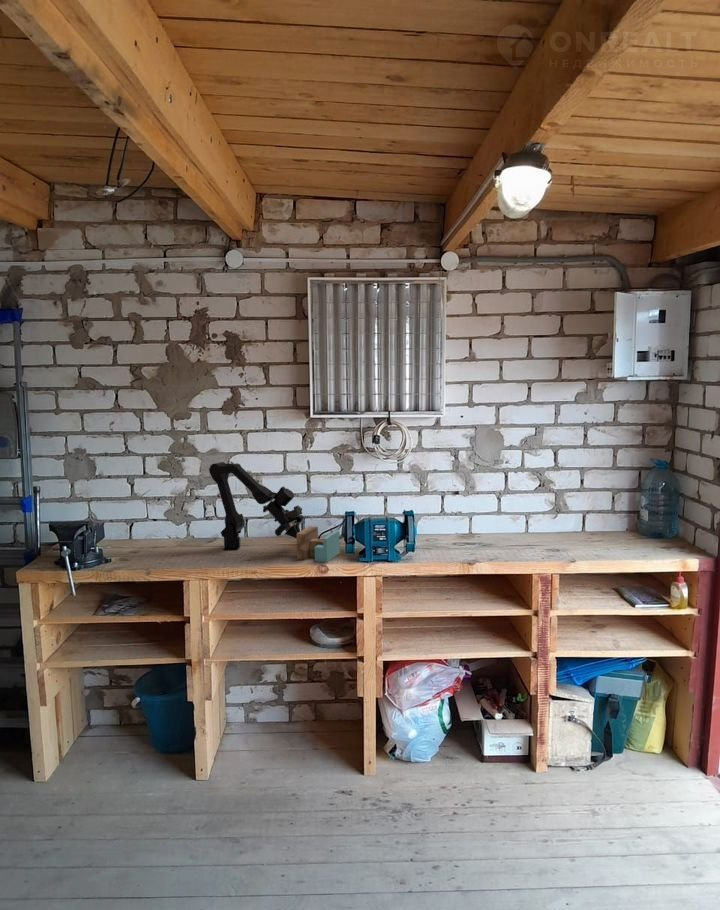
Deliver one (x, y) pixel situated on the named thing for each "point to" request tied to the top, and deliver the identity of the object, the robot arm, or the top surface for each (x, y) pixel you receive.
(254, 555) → the top surface
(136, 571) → the top surface
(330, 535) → the teal block
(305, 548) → the walnut t block
